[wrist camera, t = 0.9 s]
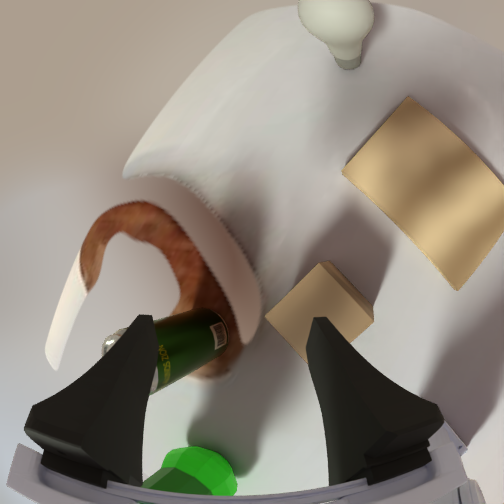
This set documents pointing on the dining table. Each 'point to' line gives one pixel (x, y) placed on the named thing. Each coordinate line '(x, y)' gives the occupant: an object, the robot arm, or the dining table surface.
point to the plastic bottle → (194, 473)
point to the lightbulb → (339, 26)
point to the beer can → (183, 344)
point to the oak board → (432, 190)
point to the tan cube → (321, 307)
